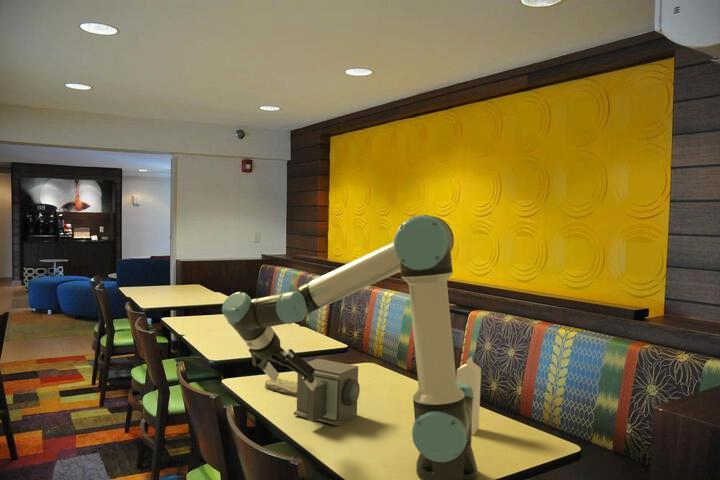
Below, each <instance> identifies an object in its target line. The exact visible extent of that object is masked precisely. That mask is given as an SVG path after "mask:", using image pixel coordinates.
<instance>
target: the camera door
mask: <svg viewBox="0 0 720 480" xmlns="http://www.w3.org/2000/svg"><path fill="white" fill-rule="evenodd" d="M313 376H314V375H313ZM314 378H315V380H316V381H317V385H316V387H315V389H314V391H311V390H310V388H309V387H308V386H307V418H306V421H310V422H314V421H317V419H319V418H321V417H325V418H329V419H333V420H336V419H337V387H338V380H333V379H329V378H324V377H319V376H314Z"/></svg>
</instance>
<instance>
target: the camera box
mask: <svg viewBox="0 0 720 480" xmlns="http://www.w3.org/2000/svg"><path fill="white" fill-rule="evenodd" d="M307 363H308V364H309V365H310V366H312V367H313V368H314V369H315V372H314V374H313V375H314V376H319V377H324V378H329V379H333V380H338V387H337V419H336V420H333V419H329V418H325V417H321V418H319V419H317V420H316V421H318V422H320V423H321V422H322V423H327V424H329V425H333V426H337V427H339V426H340V425H342V424H345V423H346V422H347V421H350V420H351V419H353V418H356V416H358V399H359V396H360V390H361V387H360V384H359V366H358V365H355V364H354V365H353V364H349V363H343V362H339V361H332V360H327V359H322V358H321V359H320V358H316V359H312V360H310V361H307ZM296 381H297V397H296V410H295V411H293V416H294V415H295V416H298V417H301V418H307V384H306V383H305V382H304V380H303V379H302V376H301V375H299V374H298V373H297V380H296Z"/></svg>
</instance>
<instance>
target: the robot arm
mask: <svg viewBox="0 0 720 480" xmlns="http://www.w3.org/2000/svg"><path fill="white" fill-rule="evenodd" d="M454 243H455V239H454V232H453V230H452V228H451V227H450V225H449V224H448V223H447V222H446V221H445V220H443V219H442V218H440V217H437V216H433V215H428V214H423V215H422V214H420V215H419V214H418V215H414V216H412V217H410V218H408V219H406V220H405V221H404V222H403V223H402V224H400V225H399V227H398V228H397V230H396V232H395V234H394V239H393V241H392V242H390V243H388V244H386V245H383V246H381V247H380V248H377V249H375V250H373V251H371V252H369V253H367V254H365V255H363V256H360V257H359V258H356V259H355V260H352V261H351V262H348V263H346V264H344V265H342V266H340V267H338V268H335V269H334V270H332V271H330V272H327V273H326V274H323V275H322V276H319V277H318V278H315V279H313V280H311V281H310V282H307V283H305V284H303V285H301V286H299V287H298V286H297V287H296V288H294V289H291V290H287V291H284V292H280V293H277V294H272V295H268V296H263V297H257V298H251V296H249V295H248V294H247V293H246V292H242V291H237V292H234V293H232V294H231V295H229V296H228V297H227V298H226V299H225V300H224V302H223V304H222V306H221V312H222V314H223V316H224V317H225V319H226V321H227V323H228V324H229V325H230V326H231V327H232V328H233V329H234V330H235V332H237V334H238V335H239V336H240V337H241V339H242V340H243V342H245V344H246V347H248V348H249V349H248V352H249V353H250V356H251V362H252V366H253V367H257V366H258V368H259V369H261V370H262V371H263V373H265V374H266V376H267V377H268V378H269V380H270V379H271V380H272V382H275V381H276V379H279V378H278V377H280V376H279V375H280V374H279V372H278V371H277V370H276V368H275V367H274V366H273V364H271V362H274V363H277V364H279V365H281V366H282V367H284V366H285V367H287V368H289V369H290V370H292V371H293V372H295V373H297V375H298V374H299V375H301V376H302V379H303V380H304V382H305V383H306V384H307V386H308V387H309V388H310V390H311V391H314V389H315V387H316V385H317V381H316V380H315V378H314V376H313V374H314V372H315V369H314V368H313V367H312V366H310V365H309V364H308V363H307V362H308V361H307V362H306V361H305V359H303V358H302V357H300V356H299V355H298V354H297V353H295V351H294V349H292V348H289V349H288V350H287V351H286V350H285V349H284V348H282V347H281V340H280V337H279V336H278V335H277V334H276V332H275V330H274V329H273V328H272V327H276V326H282V325H287V324H288V325H292V324H294V323H299V322H301V321H303V320H304V319H305V316H308V315H310V314H312V313H313V312H315V311H317V310H320V309H321V308H323V307H326V306H328V305H330V304H333V303H334V302H337V301H339V300H341V299H343V298H346V297H348V296H350V295H352V294H354V293H356V292H358V291H361V290H363V289H365V288H367V287H369V286H371V285H373V284H376V283H378V282H380V281H383V280H385V279H387V278H389V277H392V276H394V275H395V274H398V273H400V277H401V279H402V280H403V281H404V282H406V283H407V285H408V289H409V300H410V311H411V322H412V332H413V333H412V334H413V341H414V351H415V361H416V372H417V382H418V383H417V385H418V389H417V391H415V393H414V394H412V403H413V410H414V412H413V413H414V422H413V425H412V430H411V433H412V436H411V437H412V441H413V445H414V446H415V448H416V449H417V451H418V452H419V453H418V454H419V455H418V457H417V460H416V468H415V469H416V470H415V472H416V475H417V476H418V478H420V480H478V471H479V470H478V466H477V463H476V462H477V460H476V458H475V454H474V452H473V448H472V447H473V446H472V436H473V435H472V410H473V399H474V396H473V389H472V387H471V386H469V385H467V384H464V383H460V382H456V381H457V371H456V365H455V354H454V353H455V352H454V342H453V331H452V322H451V311H450V302H449V300H450V299H449V292H448V290H449V289H448V280H449V278H451V276H452V275H453V274H454V273H453V262H452V261H453V259H452V251H453V248H454V245H455V244H454ZM283 359H284V360H283Z"/></svg>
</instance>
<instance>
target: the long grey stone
mask: <svg viewBox="0 0 720 480" xmlns="http://www.w3.org/2000/svg"><path fill="white" fill-rule="evenodd" d="M264 388H265V389H267V390H271V391H275V392H277V393H280V394H283V393H285V394H286V395H288V394H289V396H291V395H293V396H292V397H295V398H297V382H296V381H292V380H288V379H282V378H277V379H276V381H275V382H272V380H271V379H270V378H269V379H267V380H266V381H265V382H264ZM285 394H284V395H285Z"/></svg>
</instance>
